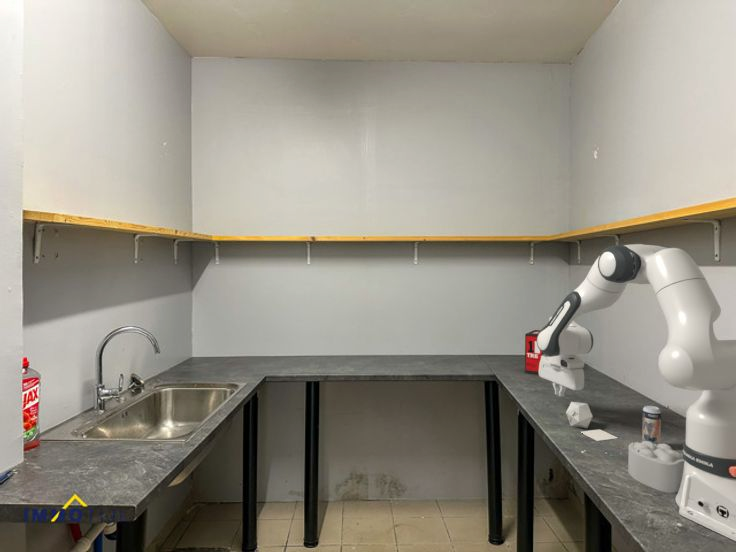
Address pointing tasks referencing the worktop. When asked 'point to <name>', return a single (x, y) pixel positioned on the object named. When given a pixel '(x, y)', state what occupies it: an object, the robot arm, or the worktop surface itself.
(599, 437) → the pad
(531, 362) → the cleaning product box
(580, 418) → the die
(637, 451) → the lumpy-topped squat cylinder
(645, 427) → the beer can
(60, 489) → the worktop surface
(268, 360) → the worktop surface
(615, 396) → the worktop surface
